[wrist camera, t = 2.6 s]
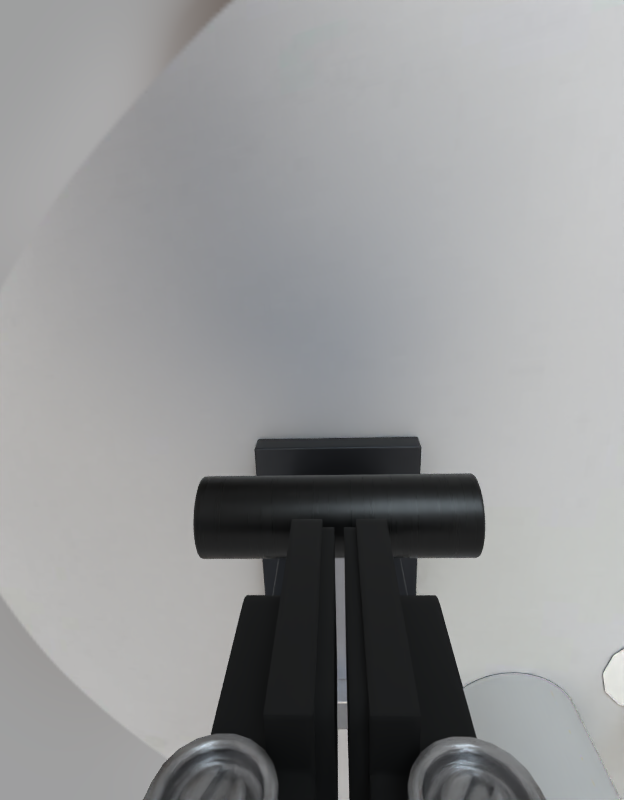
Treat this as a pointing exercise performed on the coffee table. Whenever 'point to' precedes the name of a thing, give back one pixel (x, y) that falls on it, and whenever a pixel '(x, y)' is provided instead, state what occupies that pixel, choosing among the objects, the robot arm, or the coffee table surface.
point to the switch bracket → (338, 460)
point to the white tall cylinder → (540, 734)
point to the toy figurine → (615, 678)
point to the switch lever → (339, 522)
